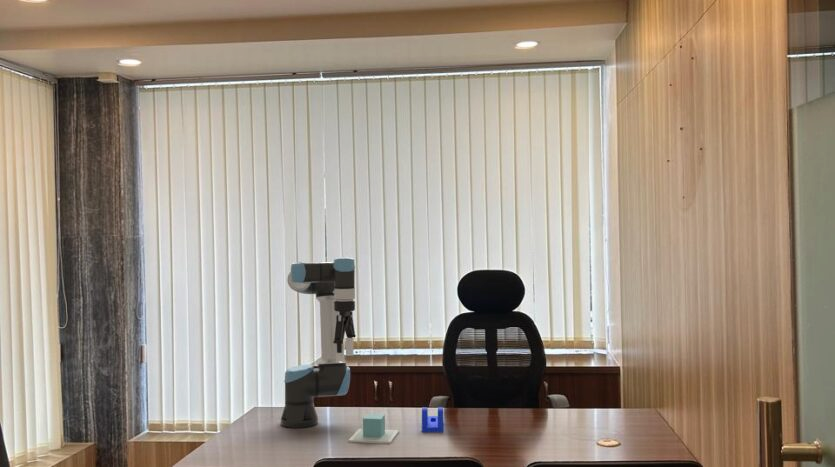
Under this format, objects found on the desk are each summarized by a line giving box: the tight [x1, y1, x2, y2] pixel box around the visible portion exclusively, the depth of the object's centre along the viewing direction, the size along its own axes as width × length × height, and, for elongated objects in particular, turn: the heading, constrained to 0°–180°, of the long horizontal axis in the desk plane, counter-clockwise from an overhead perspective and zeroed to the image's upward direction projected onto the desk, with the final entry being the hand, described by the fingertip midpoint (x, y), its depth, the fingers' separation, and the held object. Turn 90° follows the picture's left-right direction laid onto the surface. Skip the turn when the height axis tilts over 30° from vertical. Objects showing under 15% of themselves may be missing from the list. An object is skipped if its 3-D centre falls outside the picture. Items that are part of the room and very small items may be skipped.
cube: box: [362, 413, 386, 438], centre depth 295 cm, size 7×7×7 cm
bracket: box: [421, 406, 445, 433], centre depth 310 cm, size 18×8×9 cm, turn 177°
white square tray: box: [348, 428, 399, 445], centre depth 295 cm, size 16×16×1 cm
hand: (345, 358), depth 280 cm, fingers open, 13 cm apart
